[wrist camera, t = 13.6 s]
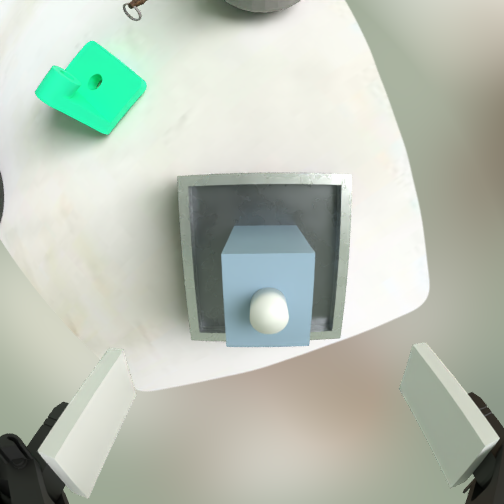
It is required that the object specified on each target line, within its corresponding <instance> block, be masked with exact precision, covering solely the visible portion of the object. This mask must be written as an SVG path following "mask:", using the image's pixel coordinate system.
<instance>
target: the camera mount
mask: <svg viewBox="0 0 504 504" xmlns="http://www.w3.org/2000/svg"><path fill="white" fill-rule="evenodd" d="M101 80H102V83H101V85H100V86H99V87H98V88H97V86H98V84H99V82H100V81H101ZM146 87H147V85H146V82H145V81H144V80H143V79H142V78H140V77H139V76H138V75H137V74H136V73H135V72H134V71H132V70H131V69H130V68H129V67H127V66H126V65H125V64H124V63H122V62H121V61H120V60H119V59H117V58H116V57H115V56H114V55H112V54H111V53H109V52H108V51H107V50H106V49H104V48H103V47H102V46H100V45H99V44H98V43H96V42H95V41H90V42H88V43H87V44H86V45H85V46H84V47H83V48H82V49H81V50H80V52H79V53H78V54H77V55H76V57H75V58H74V59H73V60H72V62H71V63H70V64H69V65H68V67H67V68H66V69H65V70H64V69H62V68H60V67H58V66H52V68H51V69H50V71H49V72H48V73H47V75H46V76H45V78H44V79H43V81H42V82H41V84H40V85H39V86H38V88H37V90H36V91H35V94H36V96H37V97H38V98H39V99H40V100H41V101H43V102H44V103H45V104H47V105H49V106H50V107H52V108H54V109H56V110H58V111H60V112H62V113H64V114H66V115H68V116H70V117H72V118H74V119H76V120H78V121H80V122H82V123H84V124H85V125H87V126H89V127H91V128H93V129H95V130H97V131H99V132H101V133H103V134H108V135H109V134H110V132H111V131H112V130H113V128H114V127H115V126H116V125H117V123H118V122H119V121H120V120H121V118H122V117H123V116H124V115H125V113H126V112H127V111H128V110H129V109H130V108H131V106H132V105H133V104H134V103H135V102H136V101H137V99H138V98H139V97H140V96H141V95H142V94H143V93H144V92H145V90H146Z"/></svg>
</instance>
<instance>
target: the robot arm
mask: <svg viewBox="0 0 504 504" xmlns="http://www.w3.org/2000/svg"><path fill="white" fill-rule="evenodd" d="M3 201H4V193H3V183H2V177H1V173H0V221H1V217H2V212H3ZM399 390H400V391H401V393H402V395H403V397H404V399H405V401H406V402H407V404H408V406H409V408H410V410H411V411H412V413H413V415H414V417H415V419H416V421H417V422H418V424H419V426H420V428H421V430H422V432H423V434H424V436H425V438H426V440H427V442H428V444H429V446H430V447H431V450H432V452H433V454H434V455H435V458H436V460H437V462H438V464H439V465H440V468H441V469H442V472H443V474H444V476H445V478H446V480H447V482H448V484H449V486H450V488H452V487H455V486H457V485H459V484H461V483H463V482H465V481H466V480H467V479H468V478H469V477H470V476H471V474H472V473H473V475H474V477H475V478H474V479H473V481H472V482H471V483H470V484H469V485H468V486H467V487H466V488H465V489H464V491H463V493H465V492H466V491H467V490H468V489H469V488H470V490H469V493H468V497H467V500H466V503H465V504H504V428H503V426H502V425H501V424H500V422H499V421H498V420H497V418H496V417H495V416H494V414H492V412H491V411H490V409H489V408H487V405H486V404H485V403H484V401H483V400H482V399H481V398H480V397H479V396H477V395H476V394H474V393H472V392H471V393H469V394H467V393H466V391H465V390H464V389H463V387H462V386H461V385H460V384H459V382H458V381H457V380H456V379H455V377H454V376H453V375H452V374H451V372H450V371H449V370H448V369H447V367H446V366H445V365H444V364H443V362H442V361H441V360H440V359H439V358H438V357H437V355H436V354H435V353H434V352H433V351H432V349H431V348H430V347H429V346H428V344H427V343H426V342H425V343H419V344H413V345H412V349H411V352H410V356H409V359H408V362H407V366H406V369H405V372H404V375H403V378H402V382H401V385H400V388H399ZM136 395H137V393H136V390H135V387H134V384H133V380H132V377H131V374H130V371H129V367H128V364H127V360H126V357H125V353H124V350H121V349H112V348H109V349H108V351H107V352H106V353H105V355H104V356H103V357H102V359H101V360H100V361H99V363H98V364H97V366H96V367H95V368H94V370H93V371H92V372H91V374H90V375H89V376H88V378H87V379H86V380H85V382H84V383H83V385H82V386H81V388H80V389H79V390H78V392H77V393H76V395H75V396H74V397H73V399H72V400H71V402H70V403H65V402H62V403H61V404H59V405H58V406H57V407H55V408H54V409H53V410H52V412H51V413H50V414H49V416H48V418H47V419H46V420H45V422H44V424H43V425H42V426H41V427H40V429H39V430H38V431H37V433H36V434H35V436H34V437H33V439H32V440H31V442H30V443H29V445H28V446H27V447H26V446H25V444H24V443H23V442H22V440H21V439H20V438H19V437H18V436H17V435H14V434H5V435H2V436H1V437H0V504H69V502H68V500H67V497H66V495H65V493H64V491H63V489H64V487H65V485H66V486H67V487H68V488H69V489H70V491H71V492H73V493H75V494H78V495H80V496H83V497H85V498H89V496H90V494H91V492H92V489H93V487H94V485H95V483H96V480H97V478H98V475H99V473H100V471H101V469H102V466H103V465H104V462H105V460H106V458H107V456H108V454H109V451H110V449H111V447H112V445H113V442H114V440H115V438H116V436H117V434H118V432H119V430H120V428H121V426H122V424H123V421H124V419H125V417H126V415H127V413H128V411H129V409H130V407H131V405H132V403H133V401H134V398H135V397H136Z"/></svg>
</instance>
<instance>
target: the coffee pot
mask: <svg viewBox="0 0 504 504" xmlns="http://www.w3.org/2000/svg"><path fill="white" fill-rule="evenodd" d="M146 1H147V0H132V2H130V3H126V4H124V5H123V10H124V12H125V14H126V15H127V16H128V17H129V18H130V19H132V20H134V21H138V20H140V19H141V17H142V15H141V12H140V10H139V9H138V8H137V7H138V6H140V5H142V4H144V3H145V2H146ZM225 1H226V2H227V3H229V4H230V5H232V6H235V7H237V8H239V9H241V10H246V11H251V12H262V13H266V12H275V11H279V10H283V9H286V8H288V7H290V6H292V5H294V4H296V3H297V2H299V1H300V0H225ZM126 5H128V6H129V8H130V9H132V8H135V10H136V11H137V12H138V14H139V19H135V18H133V17H132V16H130V15H129V14H128V12H127V11H126V8H125V6H126Z"/></svg>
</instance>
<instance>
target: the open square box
mask: <svg viewBox="0 0 504 504" xmlns="http://www.w3.org/2000/svg"><path fill="white" fill-rule="evenodd" d="M177 180H178V202H179V219H180V234H181V247H182V259H183V271H184V281H185V291H186V300H187V309H188V317H189V325H190V333H191V340H200V341H226V331H225V315H224V298H223V280H222V260H221V253H222V251H223V249H224V247H225V245H226V242H227V240H228V238H229V236H230V234H231V232H232V230H233V227H234V226H256V225H297V227H298V228H299V230H300V231H301V233H302V234H303V235H304V237H305V238H306V240H307V241H308V243H309V244H310V246H311V247H312V249H313V250H314V252H315V270H314V288H313V303H312V317H311V330H310V340H320V339H337V338H340V335H341V328H342V320H343V312H344V303H345V294H346V284H347V272H348V260H349V245H350V227H351V201H352V175H350V174H325V173H234V174H208V175H190V176H177Z"/></svg>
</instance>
